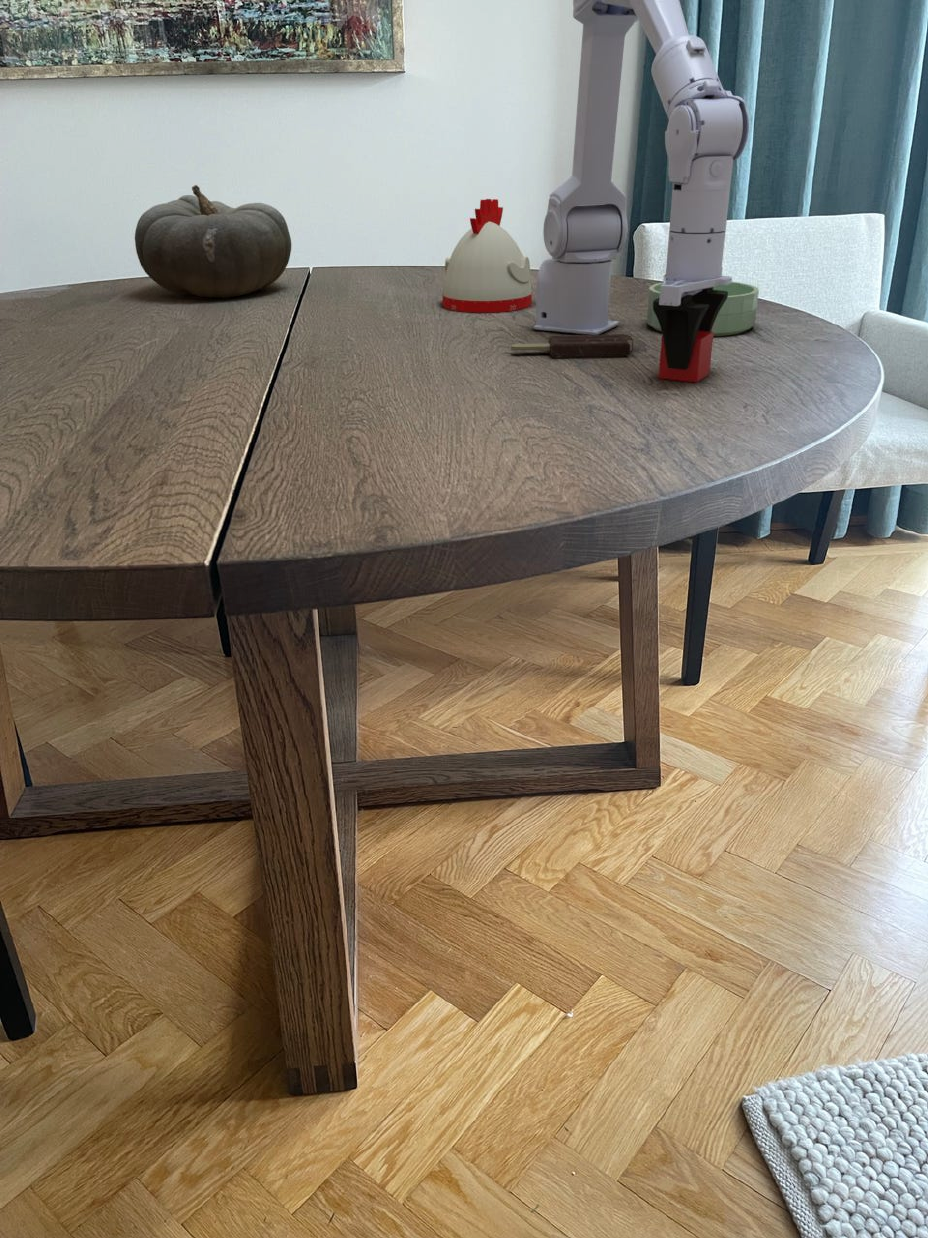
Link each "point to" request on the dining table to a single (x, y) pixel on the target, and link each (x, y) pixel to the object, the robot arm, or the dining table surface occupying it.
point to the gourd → (212, 246)
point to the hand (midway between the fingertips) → (685, 363)
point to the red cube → (698, 361)
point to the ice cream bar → (583, 346)
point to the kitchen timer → (487, 267)
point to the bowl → (732, 314)
